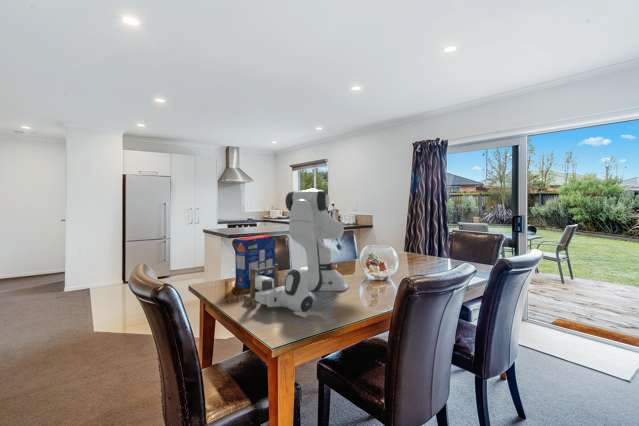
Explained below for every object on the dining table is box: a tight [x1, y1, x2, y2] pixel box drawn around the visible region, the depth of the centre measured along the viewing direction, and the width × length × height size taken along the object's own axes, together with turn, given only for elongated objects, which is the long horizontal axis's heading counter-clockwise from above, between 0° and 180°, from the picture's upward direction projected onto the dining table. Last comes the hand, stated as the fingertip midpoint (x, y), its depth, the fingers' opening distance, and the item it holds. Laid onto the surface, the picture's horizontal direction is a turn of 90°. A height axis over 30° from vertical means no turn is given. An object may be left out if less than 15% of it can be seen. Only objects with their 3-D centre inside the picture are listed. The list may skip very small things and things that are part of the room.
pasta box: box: [234, 234, 276, 290], centre depth 194 cm, size 28×8×28 cm, turn 153°
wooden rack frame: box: [243, 263, 279, 308], centre depth 158 cm, size 8×16×18 cm, turn 136°
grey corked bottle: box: [262, 279, 272, 291], centre depth 156 cm, size 5×5×11 cm
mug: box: [255, 275, 274, 291], centre depth 179 cm, size 12×10×8 cm
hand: (265, 290), depth 156 cm, fingers closed on grey corked bottle, 5 cm apart
